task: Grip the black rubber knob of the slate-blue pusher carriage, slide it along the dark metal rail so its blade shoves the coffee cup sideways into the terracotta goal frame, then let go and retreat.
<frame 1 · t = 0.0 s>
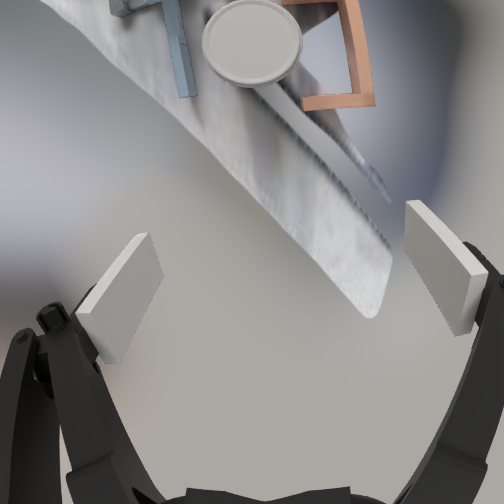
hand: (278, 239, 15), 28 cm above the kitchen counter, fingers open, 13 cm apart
goal: (324, 47, 33), on the kitchen counter
coffee cup: (258, 54, 34), on the kitchen counter
pusher: (167, 29, 28), point 6 cm above the kitchen counter, slide at 0.0 cm
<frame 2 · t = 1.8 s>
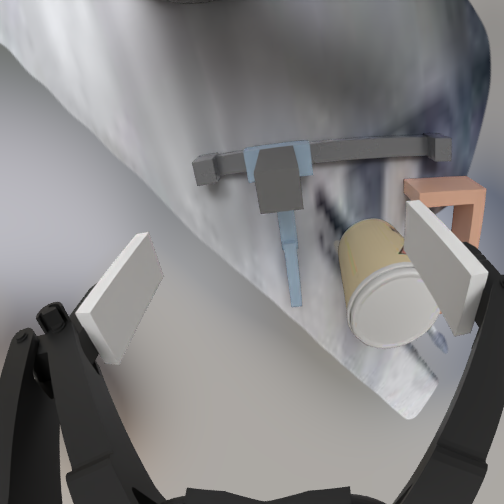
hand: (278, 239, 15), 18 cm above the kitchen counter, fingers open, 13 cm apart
rail: (326, 149, 30), on the kitchen counter
goal: (432, 240, 34), on the kitchen counter
coffee cup: (368, 247, 36), on the kitchen counter
pusher: (289, 245, 30), point 6 cm above the kitchen counter, slide at 0.0 cm
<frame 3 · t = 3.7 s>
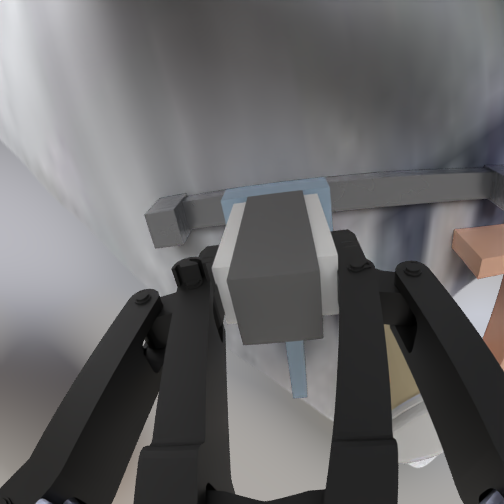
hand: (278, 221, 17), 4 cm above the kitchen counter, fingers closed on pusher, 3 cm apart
rail: (350, 189, 20), on the kitchen counter
goal: (476, 303, 24), on the kitchen counter
coffee cup: (397, 316, 25), on the kitchen counter
pusher: (292, 341, 19), point 6 cm above the kitchen counter, slide at 0.0 cm, touching gripper
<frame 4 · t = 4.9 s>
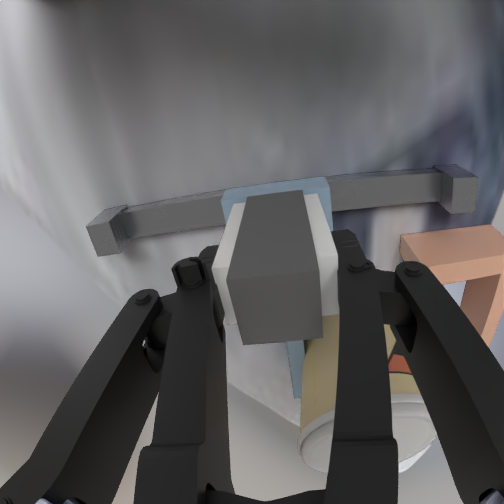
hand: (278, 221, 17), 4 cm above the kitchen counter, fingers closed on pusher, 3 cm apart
rail: (280, 196, 21), on the kitchen counter
goal: (436, 310, 25), on the kitchen counter
coffee cup: (348, 323, 26), on the kitchen counter, touching pusher
pusher: (293, 341, 19), point 6 cm above the kitchen counter, slide at 4.8 cm, touching coffee cup, gripper
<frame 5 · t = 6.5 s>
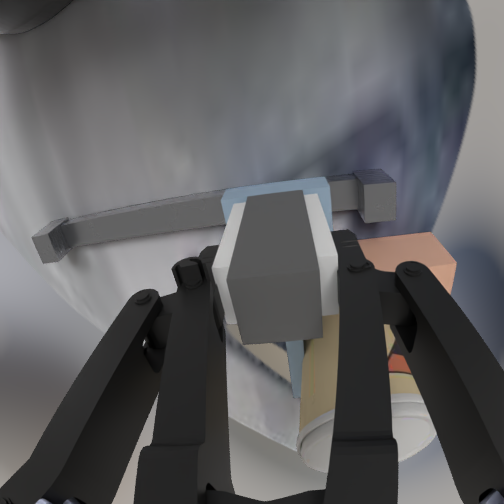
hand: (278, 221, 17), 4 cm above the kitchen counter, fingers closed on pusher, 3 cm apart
rail: (192, 208, 22), on the kitchen counter
goal: (374, 321, 26), on the kitchen counter
coffee cup: (347, 322, 26), on the kitchen counter, touching pusher
pusher: (292, 341, 19), point 6 cm above the kitchen counter, slide at 10.8 cm, touching coffee cup, gripper
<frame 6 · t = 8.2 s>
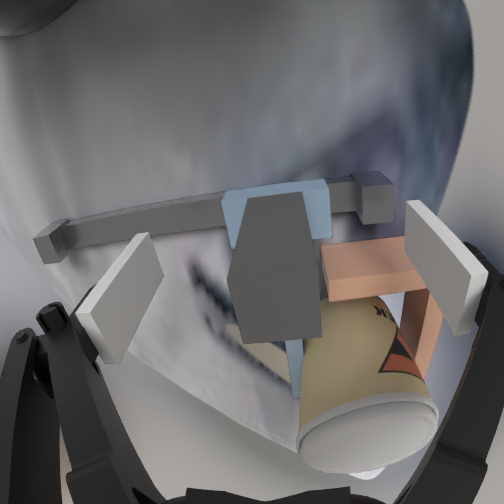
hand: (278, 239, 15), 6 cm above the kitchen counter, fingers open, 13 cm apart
rail: (192, 210, 22), on the kitchen counter
goal: (372, 322, 26), on the kitchen counter
coffee cup: (346, 323, 26), on the kitchen counter
pusher: (292, 341, 19), point 6 cm above the kitchen counter, slide at 10.9 cm
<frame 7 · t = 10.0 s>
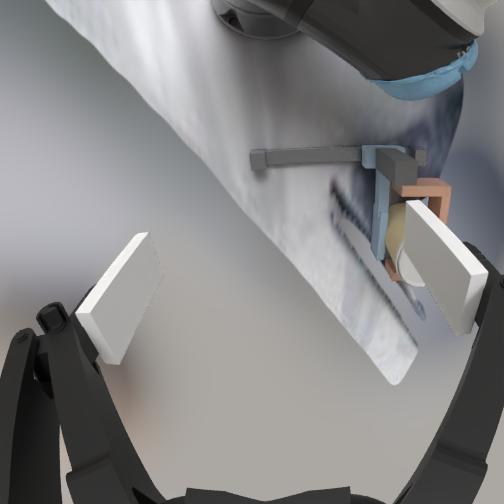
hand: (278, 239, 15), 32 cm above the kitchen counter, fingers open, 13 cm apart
rail: (340, 153, 44), on the kitchen counter
goal: (412, 223, 48), on the kitchen counter
coffee cup: (399, 223, 49), on the kitchen counter
pusher: (388, 212, 42), point 6 cm above the kitchen counter, slide at 10.9 cm
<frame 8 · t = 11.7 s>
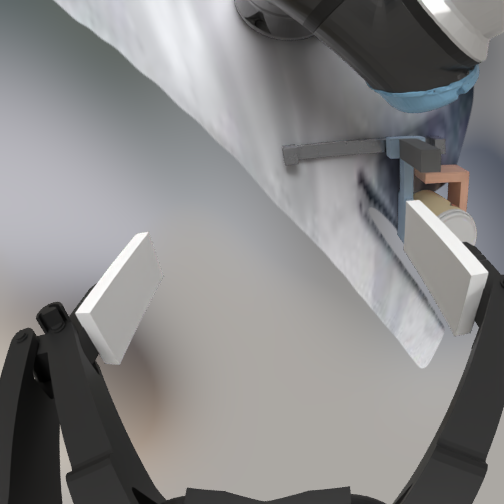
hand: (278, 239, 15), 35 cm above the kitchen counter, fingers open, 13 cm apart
rail: (365, 145, 45), on the kitchen counter
goal: (434, 209, 49), on the kitchen counter
coffee cup: (423, 209, 49), on the kitchen counter
pusher: (414, 198, 43), point 6 cm above the kitchen counter, slide at 10.9 cm
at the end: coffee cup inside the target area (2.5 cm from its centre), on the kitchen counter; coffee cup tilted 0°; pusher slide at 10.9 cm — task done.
